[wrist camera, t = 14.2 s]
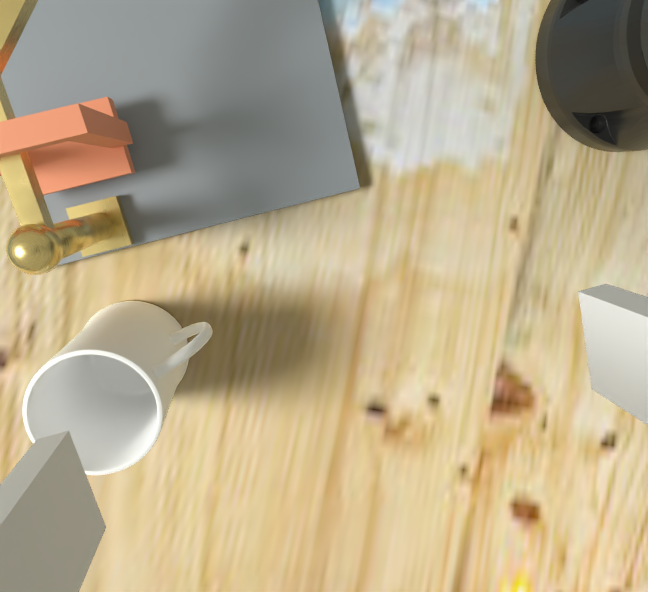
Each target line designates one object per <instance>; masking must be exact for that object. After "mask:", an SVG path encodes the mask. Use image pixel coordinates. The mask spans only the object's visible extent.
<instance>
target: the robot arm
mask: <svg viewBox="0 0 648 592" xmlns="http://www.w3.org/2000/svg"><path fill="white" fill-rule="evenodd" d="M536 74H537V80H538V85H539V89H540V92H541V95H542V98H543V100H544V103H545V105H546V107H547V109H548V111H549V112H550V114H551V116H552V117H553V118H554V120H555V121H556V122H557V124H558V125H559V126H560V127H561V128H562V129H563V130H564V131H565V132H566V133H567V134H569V135H570V136H571V137H572V138H574V139H575V140H577V141H579V142H580V143H582V144H584V145H586V146H589V147H591V148H595V149H598V150H603V151H610V152H624V151H640V150H646V149H648V0H551V1H550V3H549V5H548V7H547V9H546V12H545V14H544V17H543V19H542V22H541V26H540V29H539V33H538V38H537V45H536ZM578 293H579V300H580V308H581V315H582V322H583V329H584V337H585V344H586V351H587V358H588V365H589V373H590V380H591V387H592V390H594V391H596V392H597V393H599V394H600V395H602V396H603V397H605V398H606V399H608V400H609V401H611V402H613V403H614V404H616V405H617V406H619V407H620V408H622V409H623V410H625V411H626V412H628V413H630V414H631V415H633V416H634V417H636V418H637V419H639V420H640V421H642V422H643V423H645V424H647V425H648V297H646V296H643V295H640V294H636V293H633V292H630V291H627V290H624V289H621V288H618V287H615V286H611V285H608V284H604V285H600V286H597V287H593V288H589V289H586V290H582V291H578ZM105 528H106V526H105V523H104V520H103V518H102V515H101V513H100V510H99V508H98V505H97V502H96V500H95V497H94V495H93V492H92V489H91V487H90V484H89V482H88V479H87V476H86V474H85V471H84V469H83V466H82V463H81V461H80V458H79V456H78V453H77V450H76V448H75V445H74V443H73V440H72V437H71V435H70V432H69V431H65V432H61V433H58V434H54V435H50V436H47V437H43V438H39V439H37V440H36V441H35V442H34V444H33V445H32V446H31V447H30V449H29V450H28V451H27V452H26V454H25V455H24V456H23V457H22V458H21V460H20V461H19V462H18V463H17V465H16V466H15V467H14V468H13V469H12V471H11V472H10V473H9V474H8V476H7V477H6V478H5V479H4V480H3V482H2V483H1V484H0V592H79V590H80V588H81V585H82V583H83V581H84V578H85V576H86V574H87V571H88V569H89V566H90V564H91V562H92V559H93V557H94V555H95V552H96V550H97V547H98V545H99V543H100V540H101V538H102V536H103V533H104V531H105Z"/></svg>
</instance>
